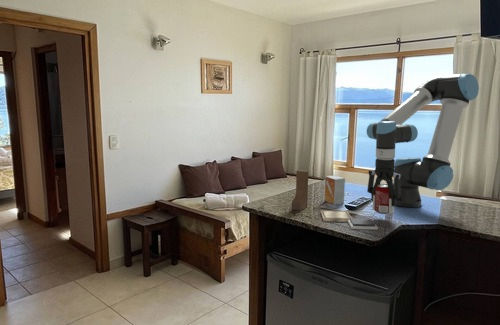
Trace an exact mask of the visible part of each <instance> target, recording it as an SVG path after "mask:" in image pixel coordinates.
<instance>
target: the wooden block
mask: <svg viewBox="0 0 500 325" xmlns="http://www.w3.org/2000/svg"><path fill="white" fill-rule="evenodd" d="M295 176H296V178H295V180H296V181H295V182H296V183H295V195H294V198H293V199H292V200H291V210H292V211H298V212H302V210H304V209H306V208H307V207H308V201H309V199H308V197H309V196H308V195H309V170H308V169H298V170H296V175H295Z"/></svg>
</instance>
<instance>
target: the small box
mask: <svg viewBox="0 0 500 325" xmlns="http://www.w3.org/2000/svg"><path fill="white" fill-rule="evenodd" d="M345 186H346V178H345V177H341V176H338V175H325V182H324V201H325V202H326V203H328V204H332V205H334V206H335V205H336V206H337V205H342V204H344V203H345V188H346V187H345Z"/></svg>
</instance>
